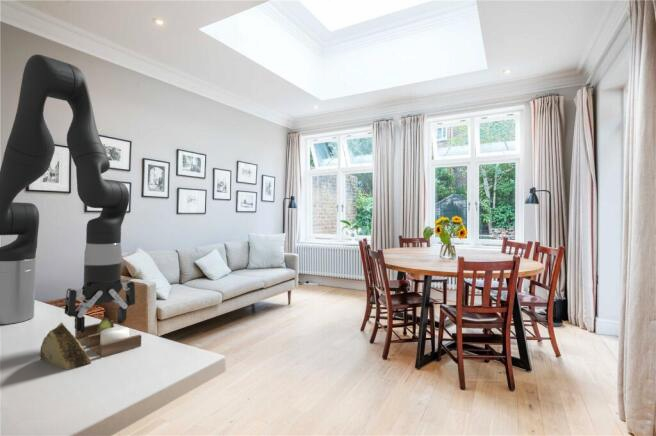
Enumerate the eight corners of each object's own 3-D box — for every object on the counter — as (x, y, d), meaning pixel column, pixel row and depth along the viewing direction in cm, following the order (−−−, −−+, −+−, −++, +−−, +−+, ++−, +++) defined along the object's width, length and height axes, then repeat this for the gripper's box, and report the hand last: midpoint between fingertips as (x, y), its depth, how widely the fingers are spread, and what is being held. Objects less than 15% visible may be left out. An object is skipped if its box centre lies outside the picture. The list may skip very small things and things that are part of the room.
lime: (98, 343, 79) (99, 322, 79) (86, 339, 81) (86, 318, 81) (117, 337, 83) (117, 316, 83) (104, 333, 85) (105, 313, 85)
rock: (22, 354, 69) (21, 365, 61) (55, 315, 73) (58, 322, 65) (74, 374, 74) (79, 387, 66) (103, 337, 78) (110, 345, 70)
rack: (75, 342, 81) (75, 328, 81) (111, 333, 87) (112, 320, 87) (102, 361, 71) (102, 345, 71) (140, 350, 78) (141, 335, 78)
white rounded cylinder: (93, 348, 75) (94, 333, 75) (113, 340, 80) (114, 325, 80) (114, 352, 74) (115, 336, 74) (134, 343, 79) (135, 328, 79)
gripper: (127, 257, 89) (125, 317, 90) (62, 262, 78) (60, 331, 78) (141, 260, 85) (139, 323, 85) (73, 266, 73) (71, 339, 74)
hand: (101, 327), depth 82 cm, fingers open, 8 cm apart
